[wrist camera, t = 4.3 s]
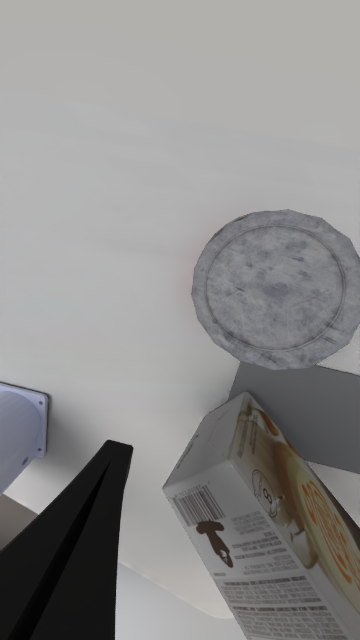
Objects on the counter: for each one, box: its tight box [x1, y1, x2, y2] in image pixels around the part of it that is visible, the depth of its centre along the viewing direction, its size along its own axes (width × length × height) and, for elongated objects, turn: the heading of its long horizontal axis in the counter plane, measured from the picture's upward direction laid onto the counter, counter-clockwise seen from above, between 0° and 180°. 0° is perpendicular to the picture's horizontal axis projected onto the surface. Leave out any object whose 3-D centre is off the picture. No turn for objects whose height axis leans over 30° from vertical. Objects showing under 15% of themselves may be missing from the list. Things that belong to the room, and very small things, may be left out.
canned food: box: [191, 209, 360, 370], centre depth 13 cm, size 11×10×10 cm
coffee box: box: [163, 391, 360, 640], centre depth 12 cm, size 9×6×16 cm
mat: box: [227, 361, 360, 474], centre depth 18 cm, size 11×17×1 cm, turn 77°
